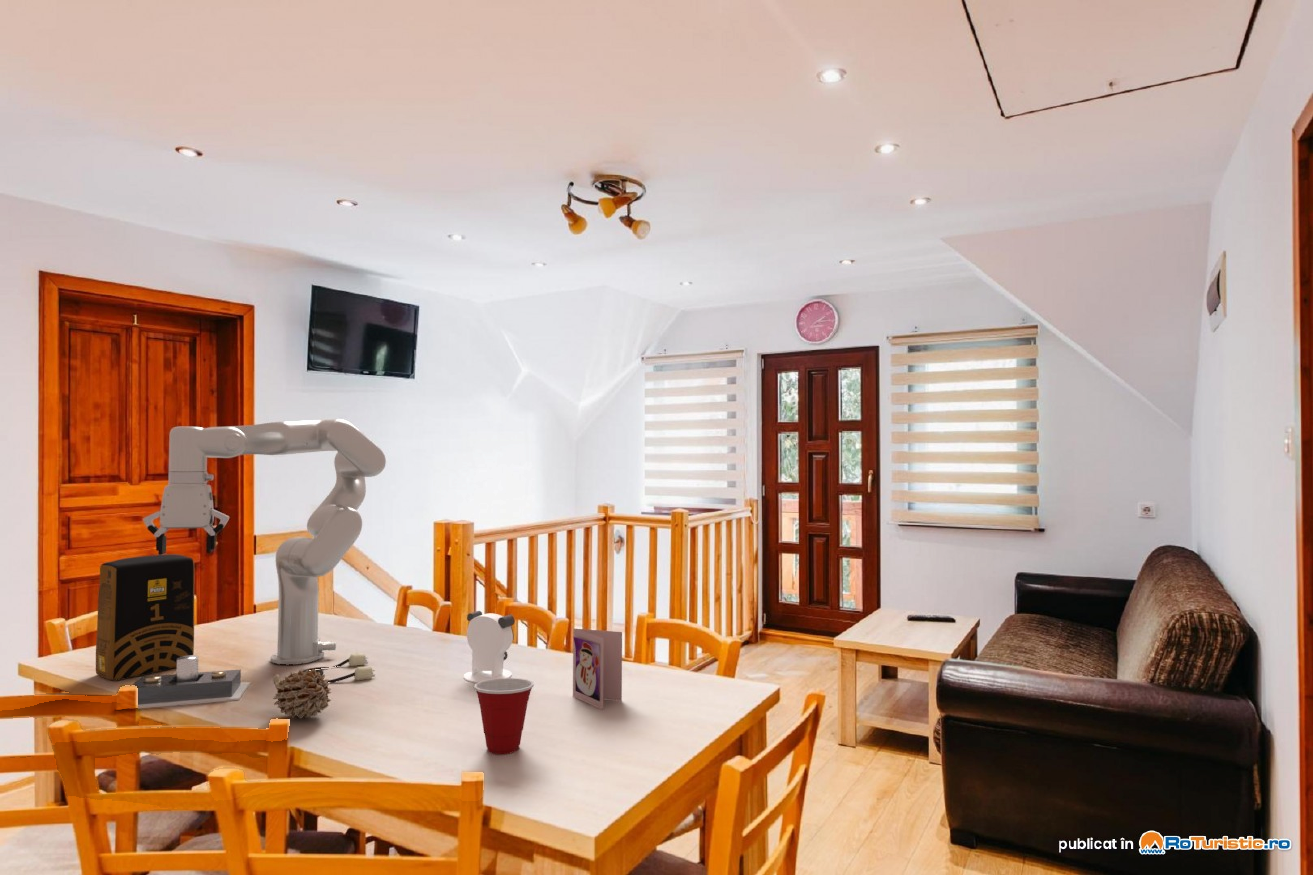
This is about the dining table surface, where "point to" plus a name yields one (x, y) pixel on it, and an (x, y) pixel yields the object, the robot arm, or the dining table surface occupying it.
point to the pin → (187, 668)
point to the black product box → (144, 615)
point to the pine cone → (302, 693)
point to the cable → (359, 672)
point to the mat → (235, 696)
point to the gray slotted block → (187, 687)
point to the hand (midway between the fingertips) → (186, 553)
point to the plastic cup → (503, 712)
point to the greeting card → (597, 666)
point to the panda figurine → (489, 645)
